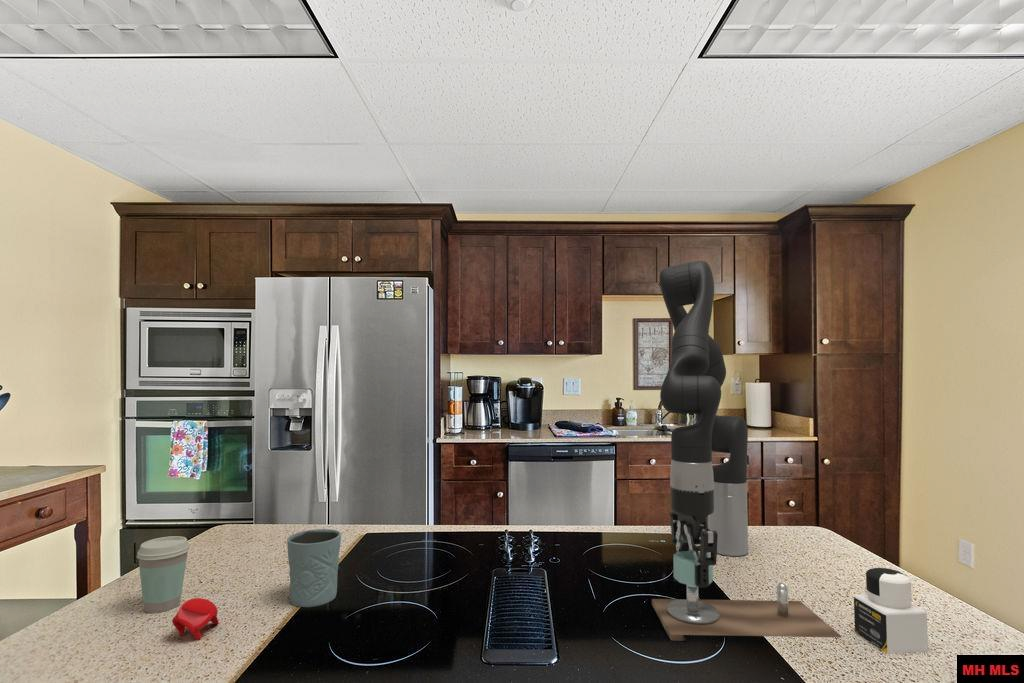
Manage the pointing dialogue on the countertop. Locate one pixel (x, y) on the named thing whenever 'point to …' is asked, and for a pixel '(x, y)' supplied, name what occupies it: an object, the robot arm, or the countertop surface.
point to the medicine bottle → (890, 613)
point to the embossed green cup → (313, 566)
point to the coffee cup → (162, 572)
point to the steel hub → (693, 609)
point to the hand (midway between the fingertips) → (693, 578)
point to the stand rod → (782, 600)
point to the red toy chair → (195, 616)
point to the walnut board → (748, 620)
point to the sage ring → (687, 568)
